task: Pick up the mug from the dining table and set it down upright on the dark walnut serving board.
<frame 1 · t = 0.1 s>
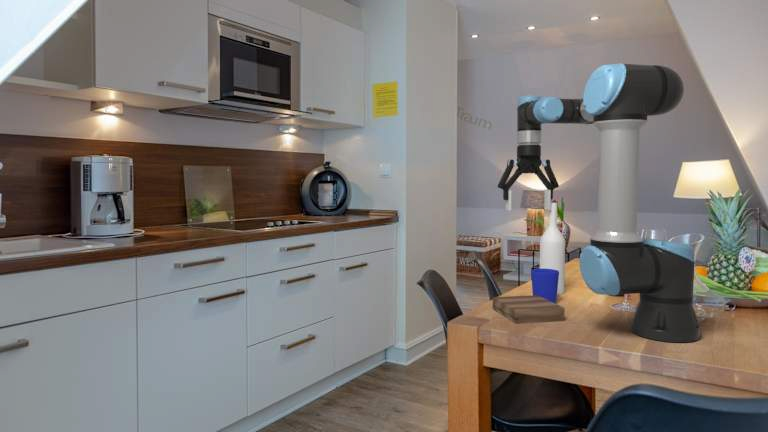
hand: (528, 210, 177), 28 cm above the table, fingers open, 13 cm apart
mug: (543, 302, 169), on the table
board: (526, 314, 153), on the table
bottle: (551, 292, 182), on the table
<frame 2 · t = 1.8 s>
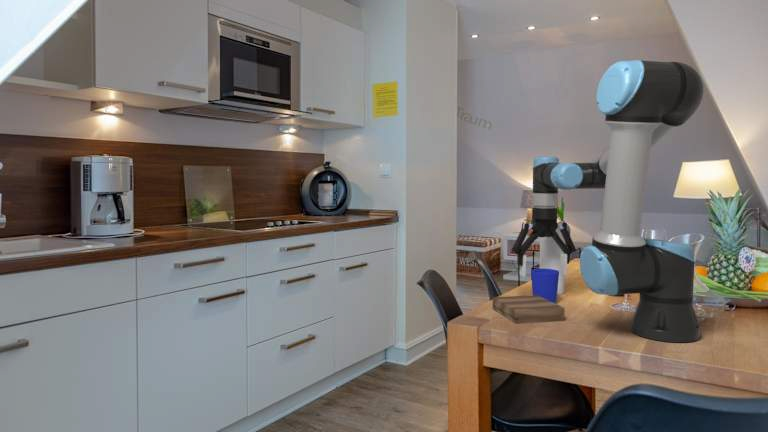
hand: (543, 275, 168), 8 cm above the table, fingers open, 13 cm apart
nothing on the table moved.
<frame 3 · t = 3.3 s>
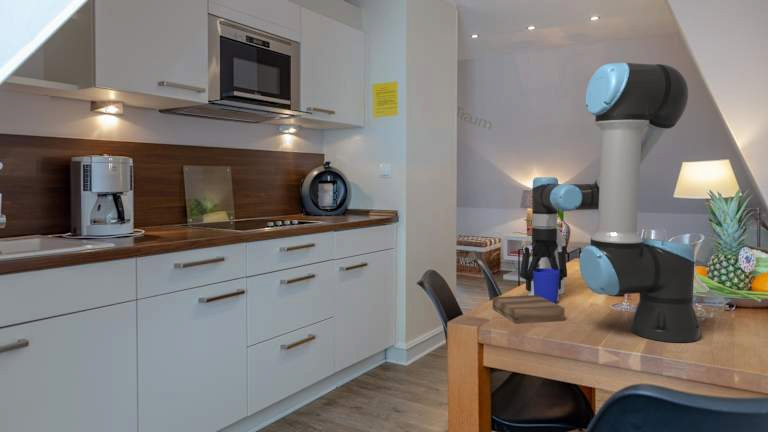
hand: (543, 300, 169), 0 cm above the table, fingers open, 7 cm apart
mug: (544, 301, 169), on the table, touching gripper
everything else where it was.
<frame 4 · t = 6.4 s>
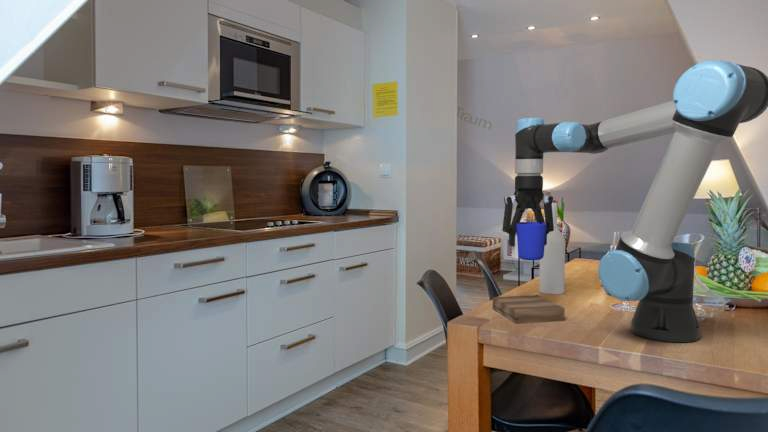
hand: (527, 257, 152), 16 cm above the table, fingers closed on mug, 7 cm apart
mug: (529, 258, 152), point 16 cm above the table, touching gripper
everything else where it was.
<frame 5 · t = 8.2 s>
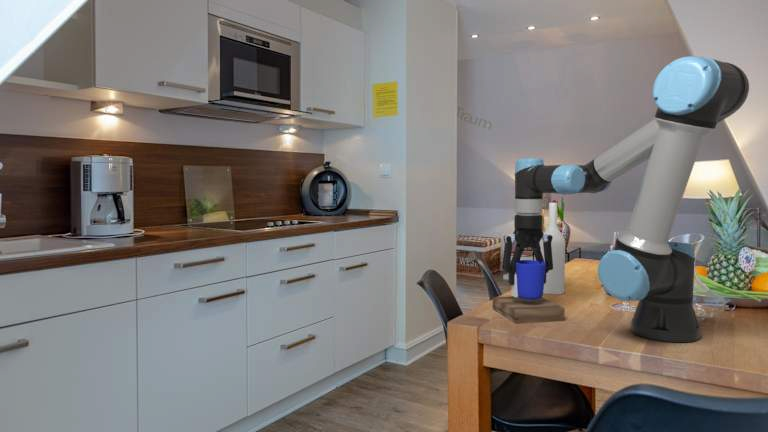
hand: (527, 295, 152), 5 cm above the table, fingers closed on mug, 7 cm apart
mug: (528, 297, 153), point 5 cm above the table, touching gripper
everything else where it was.
when the fingers open (5 cm above the table, at t = 9.1 s): mug drops 1 cm, resting on board.
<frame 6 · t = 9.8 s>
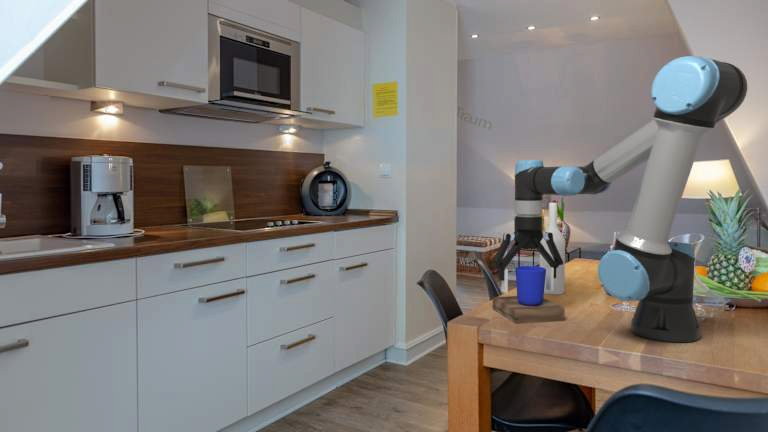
hand: (527, 291, 152), 7 cm above the table, fingers open, 13 cm apart
mug: (529, 303, 153), point 3 cm above the table, touching board
everything else where it was.
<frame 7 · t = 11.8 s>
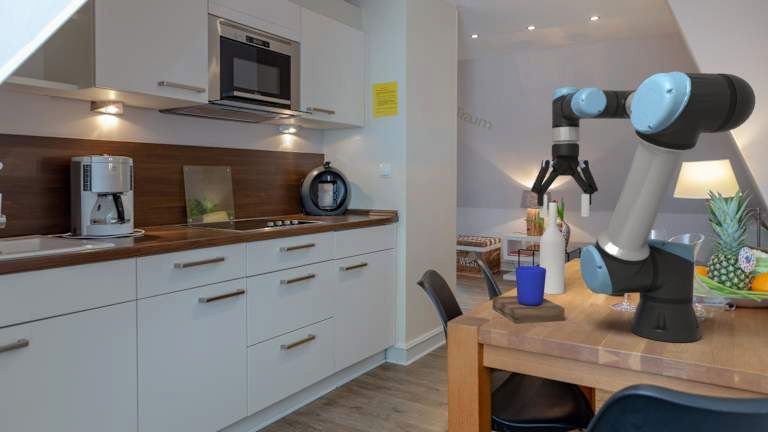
hand: (564, 217, 157), 27 cm above the table, fingers open, 13 cm apart
nothing on the table moved.
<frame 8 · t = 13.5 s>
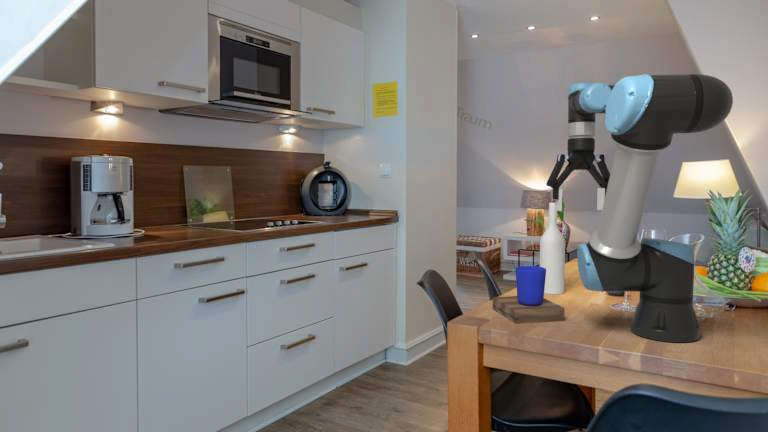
hand: (579, 210, 160), 29 cm above the table, fingers open, 13 cm apart
nothing on the table moved.
at the end: mug inside the target area on the board (0.5 cm from its centre), point 3.3 cm above the board's base; mug tilted 0°; the gripper is holding nothing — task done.
